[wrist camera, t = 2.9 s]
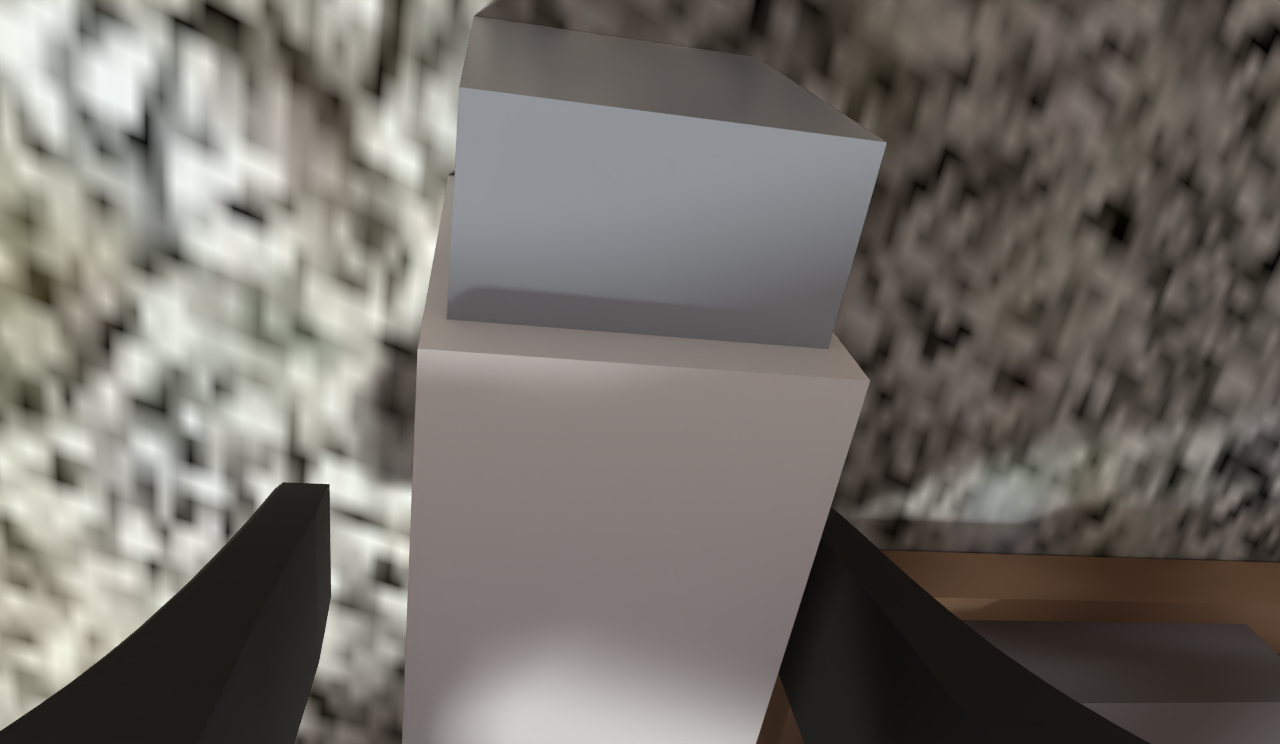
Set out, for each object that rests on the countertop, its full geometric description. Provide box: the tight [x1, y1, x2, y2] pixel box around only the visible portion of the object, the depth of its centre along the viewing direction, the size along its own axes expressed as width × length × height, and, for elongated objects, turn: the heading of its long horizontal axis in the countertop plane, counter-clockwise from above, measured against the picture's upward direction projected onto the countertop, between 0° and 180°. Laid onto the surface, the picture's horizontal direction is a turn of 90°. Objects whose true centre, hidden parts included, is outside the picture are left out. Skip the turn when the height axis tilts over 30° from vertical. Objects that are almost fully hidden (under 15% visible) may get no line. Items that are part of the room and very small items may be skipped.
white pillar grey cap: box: [402, 16, 887, 744], centre depth 12 cm, size 4×12×5 cm, turn 171°
